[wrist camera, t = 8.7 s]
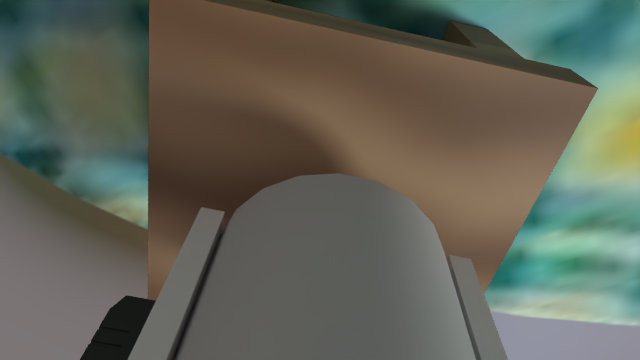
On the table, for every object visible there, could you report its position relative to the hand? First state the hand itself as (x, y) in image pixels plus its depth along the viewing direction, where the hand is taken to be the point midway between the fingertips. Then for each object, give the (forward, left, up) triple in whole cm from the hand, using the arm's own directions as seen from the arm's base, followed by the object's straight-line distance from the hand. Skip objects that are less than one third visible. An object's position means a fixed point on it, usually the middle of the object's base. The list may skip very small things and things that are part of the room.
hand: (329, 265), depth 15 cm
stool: (0, 0, -12) cm, 12 cm away
